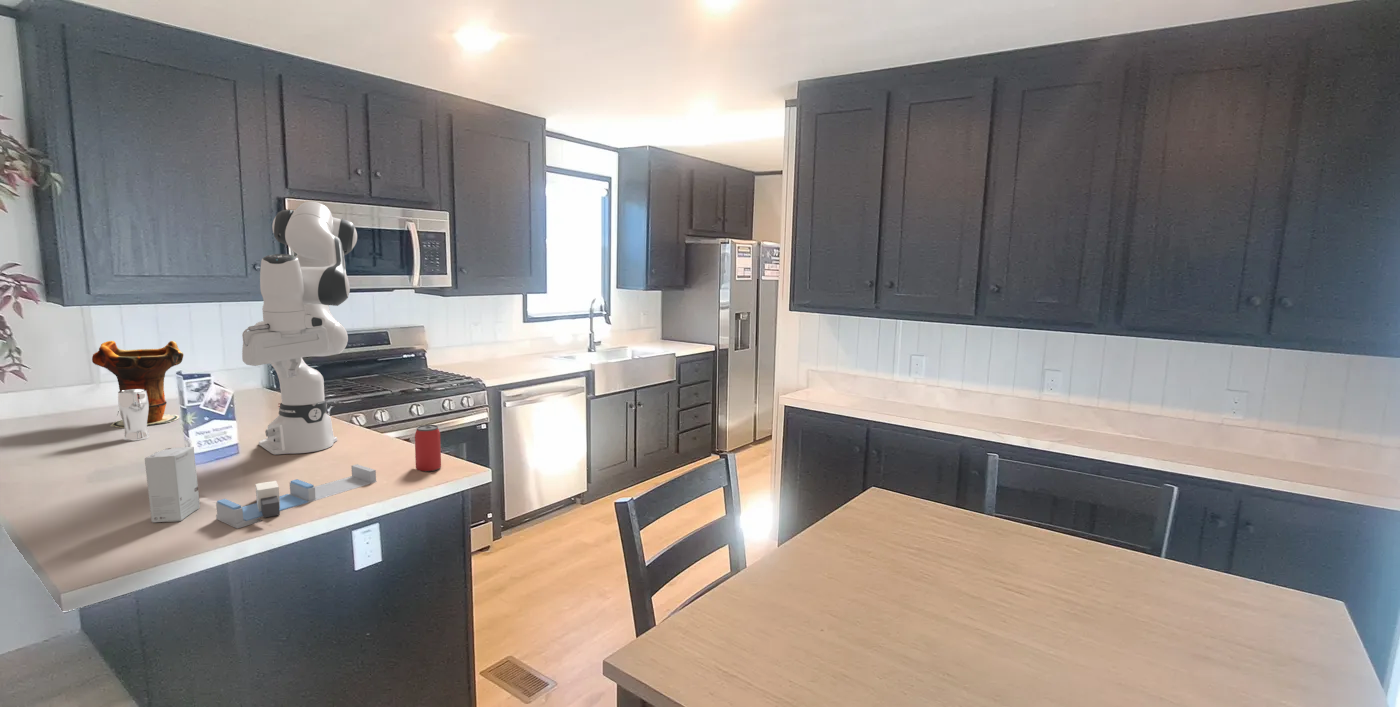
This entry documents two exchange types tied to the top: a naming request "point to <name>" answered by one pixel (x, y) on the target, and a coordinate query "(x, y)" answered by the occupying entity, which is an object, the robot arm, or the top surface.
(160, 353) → the decorative vase
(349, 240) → the robot arm
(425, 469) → the beer can
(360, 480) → the slider rail
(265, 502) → the grey post with collar
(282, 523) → the top surface
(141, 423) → the beer glass
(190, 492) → the skincare box
